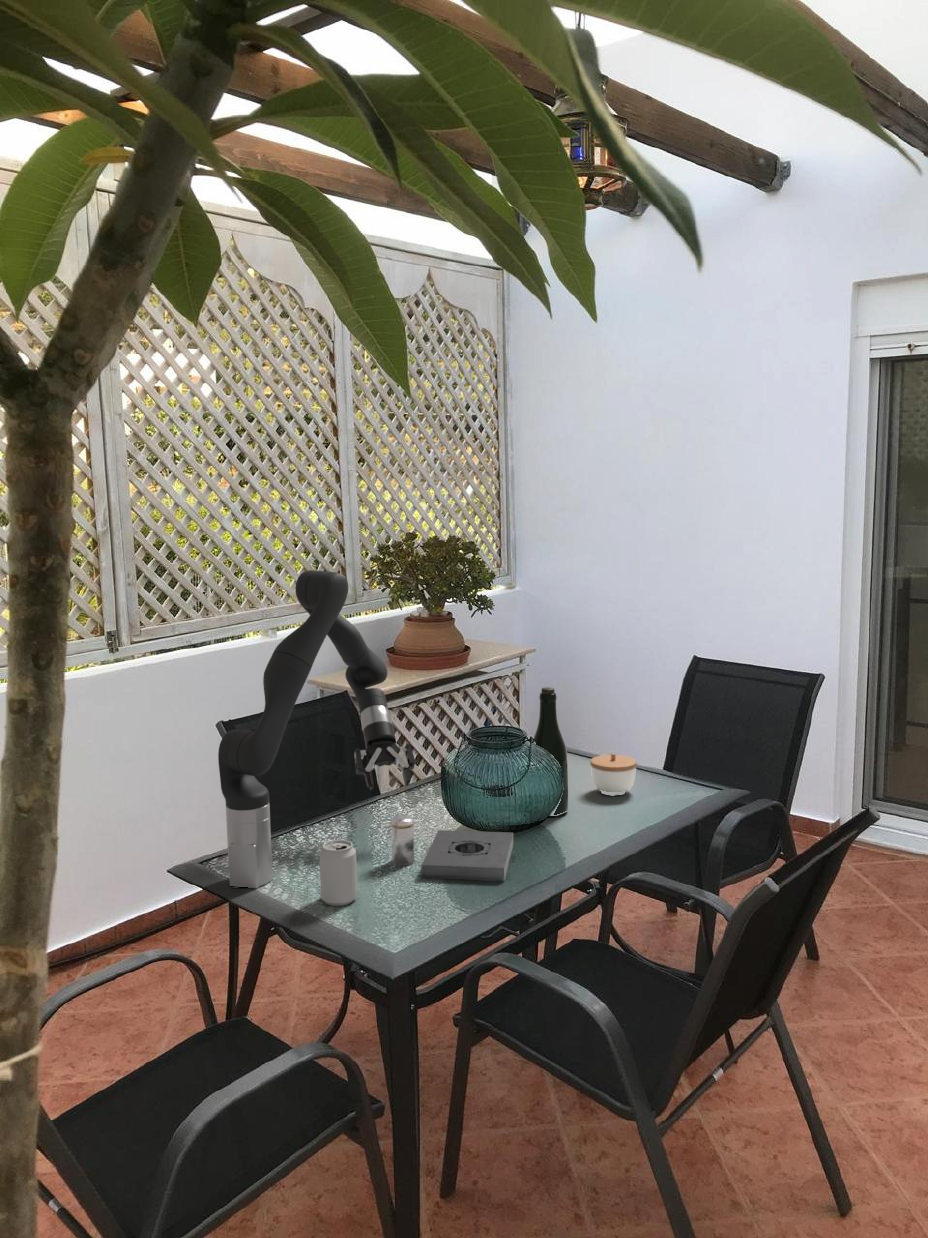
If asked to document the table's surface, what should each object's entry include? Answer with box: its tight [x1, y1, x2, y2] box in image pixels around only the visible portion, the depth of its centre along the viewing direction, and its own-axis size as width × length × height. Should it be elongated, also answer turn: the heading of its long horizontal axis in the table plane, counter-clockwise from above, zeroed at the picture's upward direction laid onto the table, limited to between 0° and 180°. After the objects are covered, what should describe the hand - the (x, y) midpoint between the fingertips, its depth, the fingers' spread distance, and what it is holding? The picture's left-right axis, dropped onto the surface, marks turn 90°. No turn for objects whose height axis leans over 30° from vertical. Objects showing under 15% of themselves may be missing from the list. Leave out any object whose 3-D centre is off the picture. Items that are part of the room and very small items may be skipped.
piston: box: [390, 815, 415, 867], centre depth 220 cm, size 5×5×10 cm
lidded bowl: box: [590, 752, 637, 792], centre depth 268 cm, size 13×13×11 cm
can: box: [318, 839, 358, 907], centre depth 199 cm, size 8×8×12 cm
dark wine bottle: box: [532, 686, 570, 815], centre depth 251 cm, size 10×10×33 cm
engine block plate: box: [421, 829, 514, 882], centre depth 220 cm, size 22×18×3 cm
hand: (389, 786), depth 229 cm, fingers open, 8 cm apart
